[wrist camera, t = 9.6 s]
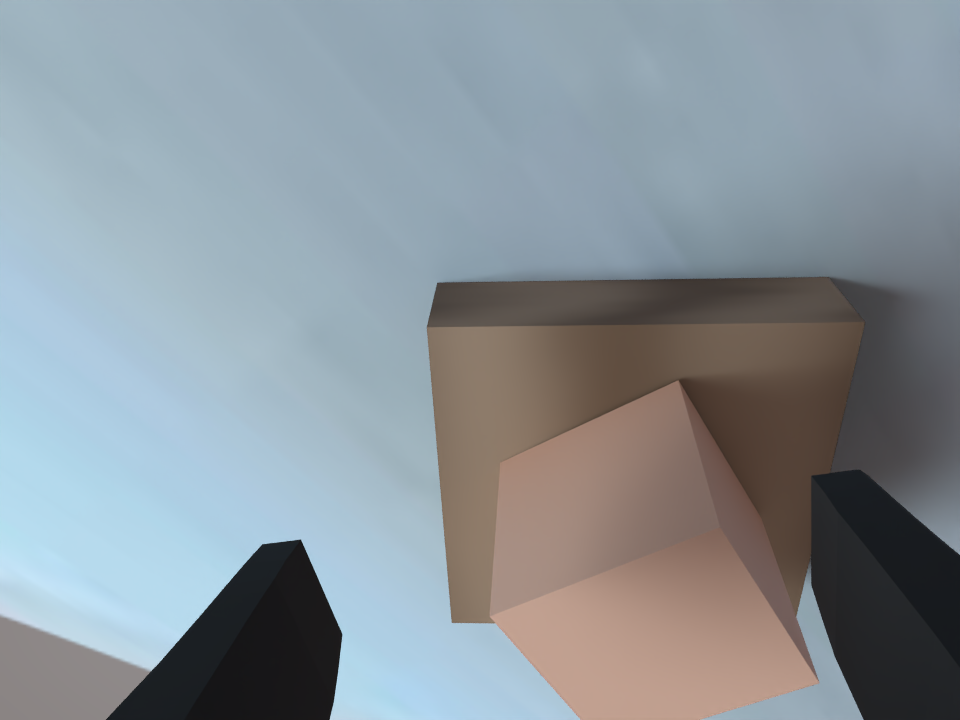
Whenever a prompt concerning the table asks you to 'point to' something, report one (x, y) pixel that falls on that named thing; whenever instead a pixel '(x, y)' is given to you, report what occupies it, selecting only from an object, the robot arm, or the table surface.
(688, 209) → the table surface
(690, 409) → the terracotta cube
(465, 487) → the walnut base block
